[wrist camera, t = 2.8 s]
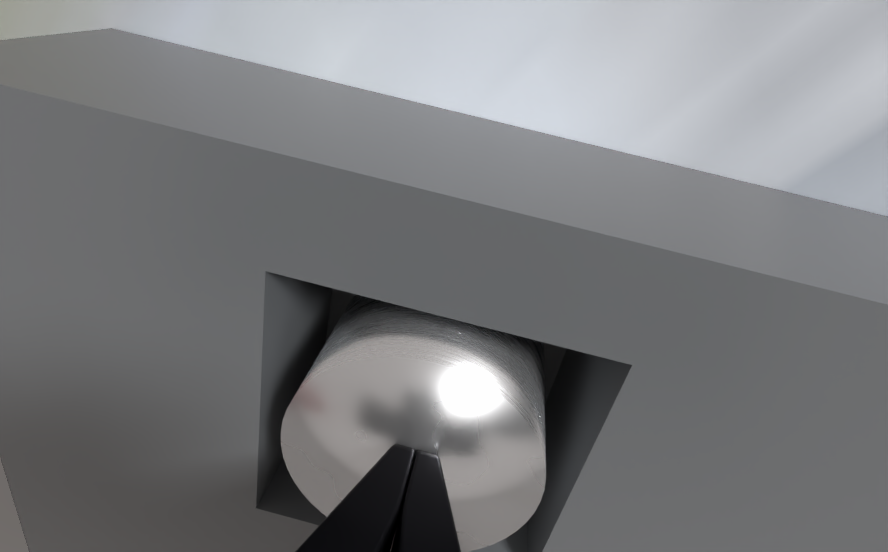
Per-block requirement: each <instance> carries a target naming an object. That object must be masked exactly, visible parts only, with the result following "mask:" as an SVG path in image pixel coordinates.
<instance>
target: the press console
mask: <svg viewBox="0 0 888 552" xmlns="http://www.w3.org/2000/svg"><path fill="white" fill-rule="evenodd" d="M354 294H357V295H360V296H364V297H368V298H372V299H376V300H380V301H384V302H388V303H392V304H396V305H399V306H403V307H407V308H411V309H415V310H419V311H423V312H427V313H431V314H435V315H438V316H442V317H446V318H450V319H454V320H458V321H462V322H466V323H470V324H474V325H477V326H481V327H485V328H489V329H493V330H497V331H501V332H505V333H509V334H513V335H516V336H520V337H524V338H528V339H532V340H536V341H540V342H544V385H545V445H546V482H545V489H544V493H543V496H542V499H541V502H540V504H539V505H538V507H537V509H536V511H535V513H534V514H533V515H532V516H531V518H530V519H529V520H528V521H527V522H526V523H525V524H524V525H523V526H522V527H521V528H520V529H519V530H517V531H516V532H515V533H513V534H512V535H510V536H508V537H507V538H505V539H503V540H501V541H499V542H497V543H495V544H493V545H490V546H487V547H484V548H481V549H477V550H472V551H468V552H888V217H887V216H883V215H879V214H875V213H870V212H866V211H862V210H858V209H854V208H850V207H846V206H842V205H837V204H833V203H829V202H825V201H821V200H817V199H813V198H809V197H804V196H800V195H796V194H792V193H788V192H784V191H780V190H776V189H771V188H767V187H763V186H759V185H755V184H751V183H747V182H743V181H739V180H734V179H730V178H726V177H722V176H718V175H714V174H710V173H706V172H701V171H697V170H693V169H689V168H685V167H681V166H677V165H673V164H668V163H664V162H660V161H656V160H652V159H648V158H644V157H640V156H635V155H631V154H627V153H623V152H619V151H615V150H611V149H607V148H602V147H598V146H594V145H590V144H586V143H582V142H578V141H574V140H569V139H565V138H561V137H557V136H553V135H549V134H545V133H541V132H536V131H532V130H528V129H524V128H520V127H516V126H512V125H508V124H503V123H499V122H495V121H491V120H487V119H483V118H479V117H475V116H471V115H466V114H462V113H458V112H454V111H450V110H446V109H442V108H438V107H433V106H429V105H425V104H421V103H417V102H413V101H409V100H405V99H400V98H396V97H392V96H388V95H384V94H380V93H376V92H372V91H367V90H363V89H359V88H355V87H351V86H347V85H343V84H339V83H334V82H330V81H326V80H322V79H318V78H314V77H310V76H306V75H301V74H297V73H293V72H289V71H285V70H281V69H277V68H273V67H268V66H264V65H260V64H256V63H252V62H248V61H244V60H240V59H235V58H231V57H227V56H223V55H219V54H215V53H211V52H207V51H203V50H198V49H194V48H190V47H186V46H182V45H178V44H174V43H170V42H165V41H161V40H157V39H153V38H149V37H145V36H141V35H137V34H132V33H128V32H124V31H120V30H116V29H112V28H111V29H101V30H92V31H83V32H73V33H64V34H55V35H45V36H36V37H27V38H17V39H8V40H0V457H1V461H2V464H3V468H4V471H5V474H6V477H7V481H8V483H9V487H10V490H11V493H12V497H13V500H14V503H15V507H16V510H17V513H18V516H19V520H20V523H21V526H22V529H23V533H24V536H25V539H26V542H27V546H28V549H29V552H295V551H296V550H297V549H298V548H299V547H300V546H301V545H302V544H303V542H304V541H305V540H306V539H307V538H308V537H309V536H310V535H311V534H312V533H313V532H314V530H315V529H316V528H317V527H318V526H319V525H320V524H321V523H322V522H323V521H324V519H325V518H326V516H325V515H324V514H322V513H321V512H320V511H319V510H318V509H317V508H316V507H315V506H314V505H313V504H311V503H310V501H309V500H308V499H307V498H306V497H305V496H304V495H303V493H302V492H301V491H300V489H299V488H298V487H297V485H296V484H295V482H294V481H293V479H292V477H291V475H290V473H289V471H288V469H287V466H286V464H285V461H284V458H283V454H282V448H281V427H282V421H283V418H284V415H285V412H286V410H287V408H288V406H289V404H290V403H291V401H292V399H293V397H294V396H295V394H296V392H297V391H298V389H299V387H300V386H301V384H302V382H303V381H304V379H305V377H306V375H307V374H308V372H309V370H310V369H311V367H312V365H313V364H314V362H315V360H316V358H317V357H318V355H319V353H320V352H321V350H322V348H323V347H324V345H325V343H326V341H327V340H328V338H329V336H330V335H331V333H332V331H333V330H334V328H335V326H336V324H337V323H338V321H339V319H340V318H341V316H342V314H343V313H344V311H345V309H346V307H347V306H348V304H349V302H350V301H351V299H352V297H353V296H354ZM390 552H391V551H390Z"/></svg>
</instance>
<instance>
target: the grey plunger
mask: <svg viewBox="0 0 888 552" xmlns="http://www.w3.org/2000/svg"><path fill="white" fill-rule="evenodd" d="M394 444H400V445H403V446H407V447H411V448H413V449H414V450H415V454H416V452H417V451H418V450H422V451H426V452H430V453H433V454H436V455H438V456H439V458H440V462H441V466H442V470H443V475H444V479H445V483H446V488H447V492H448V496H449V501H450V505H451V509H452V514H453V518H454V523H455V527H456V531H457V536H458V540H459V544H460V549H461V552H468V551H472V550H477V549H481V548H484V547H487V546H490V545H493V544H495V543H497V542H499V541H501V540H503V539H505V538H507V537H508V536H510V535H512V534H513V533H515V532H516V531H517V530H519V529H520V528H521V527H522V526H523V525H524V524H525V523H526V522H527V521H528V520H529V519H530V518H531V516H532V515H533V514H534V513H535V511H536V509H537V507H538V505H539V504H540V502H541V499H542V496H543V493H544V489H545V482H546V445H545V385H544V342H540V341H536V340H532V339H528V338H524V337H520V336H516V335H513V334H509V333H505V332H501V331H497V330H493V329H489V328H485V327H481V326H477V325H474V324H470V323H466V322H462V321H458V320H454V319H450V318H446V317H442V316H438V315H435V314H431V313H427V312H423V311H419V310H415V309H411V308H407V307H403V306H399V305H396V304H392V303H388V302H384V301H380V300H376V299H372V298H368V297H364V296H360V295H357V294H354V296H353V297H352V299H351V301H350V302H349V304H348V306H347V307H346V309H345V311H344V313H343V314H342V316H341V318H340V319H339V321H338V323H337V324H336V326H335V328H334V330H333V331H332V333H331V335H330V336H329V338H328V340H327V341H326V343H325V345H324V347H323V348H322V350H321V352H320V353H319V355H318V357H317V358H316V360H315V362H314V364H313V365H312V367H311V369H310V370H309V372H308V374H307V375H306V377H305V379H304V381H303V382H302V384H301V386H300V387H299V389H298V391H297V392H296V394H295V396H294V397H293V399H292V401H291V403H290V404H289V406H288V408H287V410H286V412H285V415H284V418H283V421H282V427H281V448H282V454H283V458H284V461H285V464H286V466H287V469H288V471H289V473H290V475H291V477H292V479H293V481H294V482H295V484H296V485H297V487H298V488H299V489H300V491H301V492H302V493H303V495H304V496H305V497H306V498H307V499H308V500H309V501H310V503H311V504H313V505H314V506H315V507H316V508H317V509H318V510H319V511H320V512H321V513H322V514H324V515H325V516H326V517H327V516H328V515H329V514H330V513H331V512H332V511H333V510H334V509H335V507H336V506H337V505H338V504H339V503H340V502H341V501H342V500H343V499H344V498H345V496H346V495H347V494H348V493H349V492H350V491H351V490H352V489H353V488H354V487H355V486H356V484H357V483H358V482H359V481H360V480H361V479H362V478H363V477H364V476H365V475H366V473H367V472H368V471H369V470H370V469H371V468H372V467H373V466H374V465H375V464H376V463H377V461H378V460H379V459H380V458H381V457H382V456H383V455H384V454H385V453H386V452H387V450H388V449H389V448H390V447H391V446H392V445H394ZM414 458H415V457H414ZM394 536H395V535H394ZM393 540H394V539H393ZM392 544H393V543H392ZM391 548H392V547H391Z"/></svg>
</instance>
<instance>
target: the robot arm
mask: <svg viewBox="0 0 888 552" xmlns="http://www.w3.org/2000/svg"><path fill="white" fill-rule="evenodd" d="M414 457H415V458H414ZM394 535H395V536H394ZM393 539H394V540H393ZM392 543H393V544H392ZM391 547H392V548H391ZM390 551H391V552H461V549H460V544H459V540H458V536H457V531H456V527H455V523H454V518H453V514H452V509H451V505H450V501H449V496H448V492H447V488H446V483H445V479H444V475H443V470H442V466H441V462H440V458H439V456H438V455H436V454H433V453H430V452H426V451H422V450H418V451H417V452H416V454H415V450H414V449H413V448H411V447H407V446H403V445H400V444H394V445H392V446H391V447H390V448H389V449H388V450H387V452H386V453H385V454H384V455H383V456H382V457H381V458H380V459H379V460H378V461H377V463H376V464H375V465H374V466H373V467H372V468H371V469H370V470H369V471H368V472H367V473H366V475H365V476H364V477H363V478H362V479H361V480H360V481H359V482H358V483H357V484H356V486H355V487H354V488H353V489H352V490H351V491H350V492H349V493H348V494H347V495H346V496H345V498H344V499H343V500H342V501H341V502H340V503H339V504H338V505H337V506H336V507H335V509H334V510H333V511H332V512H331V513H330V514H329V515H328V516H327V517H326V518H325V519H324V521H323V522H322V523H321V524H320V525H319V526H318V527H317V528H316V529H315V530H314V532H313V533H312V534H311V535H310V536H309V537H308V538H307V539H306V540H305V541H304V542H303V544H302V545H301V546H300V547H299V548H298V549H297V550H296V551H295V552H390Z"/></svg>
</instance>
